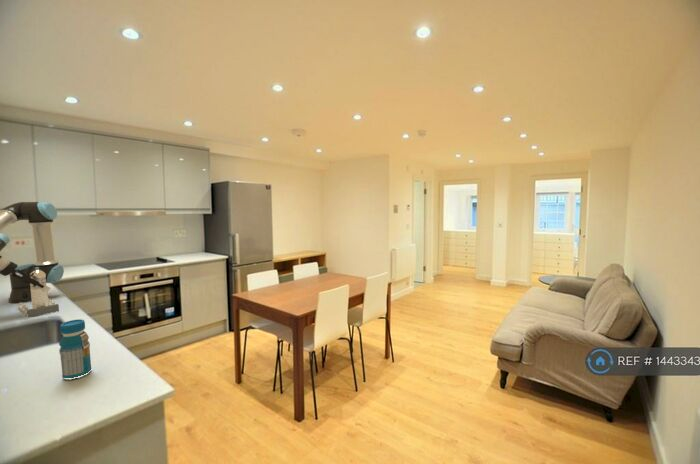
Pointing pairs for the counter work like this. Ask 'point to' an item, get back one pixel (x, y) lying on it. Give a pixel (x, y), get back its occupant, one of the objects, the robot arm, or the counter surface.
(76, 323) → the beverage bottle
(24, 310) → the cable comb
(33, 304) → the water bottle
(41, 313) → the block
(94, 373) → the counter surface
